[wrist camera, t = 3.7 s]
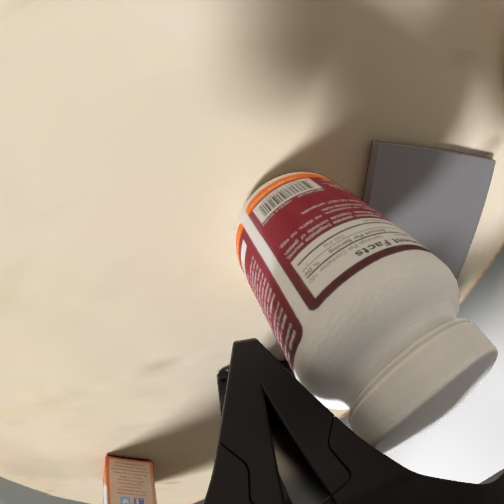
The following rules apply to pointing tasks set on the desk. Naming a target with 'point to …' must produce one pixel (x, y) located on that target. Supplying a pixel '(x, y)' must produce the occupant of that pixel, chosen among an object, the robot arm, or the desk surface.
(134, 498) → the cracker box
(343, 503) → the robot arm
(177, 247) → the desk surface
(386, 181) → the mat
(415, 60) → the desk surface
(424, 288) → the pill bottle
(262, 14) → the desk surface
